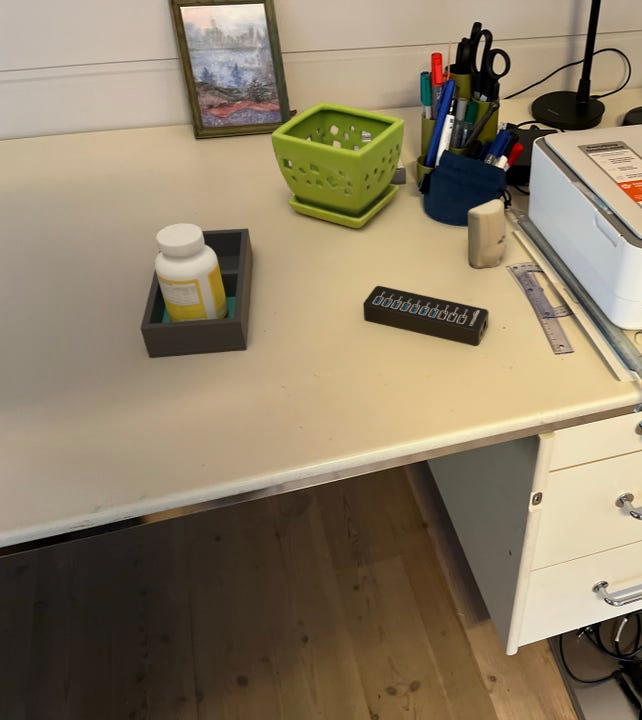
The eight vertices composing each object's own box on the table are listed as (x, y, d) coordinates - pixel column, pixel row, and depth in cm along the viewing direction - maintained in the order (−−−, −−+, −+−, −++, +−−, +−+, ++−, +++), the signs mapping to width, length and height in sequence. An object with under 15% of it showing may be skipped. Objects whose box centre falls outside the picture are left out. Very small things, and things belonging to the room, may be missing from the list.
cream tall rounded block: (471, 245, 104) (473, 193, 99) (508, 250, 104) (512, 198, 99) (463, 267, 100) (465, 214, 95) (502, 272, 99) (506, 219, 94)
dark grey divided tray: (246, 350, 85) (240, 321, 82) (149, 358, 83) (140, 328, 80) (252, 255, 100) (248, 228, 97) (170, 260, 98) (163, 232, 95)
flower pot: (364, 241, 104) (359, 155, 96) (278, 218, 107) (265, 133, 99) (409, 197, 114) (407, 116, 106) (328, 178, 117) (321, 98, 109)
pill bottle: (223, 299, 91) (205, 214, 83) (235, 330, 86) (217, 242, 79) (167, 311, 88) (143, 225, 81) (176, 343, 84) (151, 255, 76)
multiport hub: (377, 299, 93) (376, 284, 92) (488, 324, 91) (489, 309, 89) (362, 319, 90) (361, 304, 89) (477, 346, 87) (478, 330, 86)
